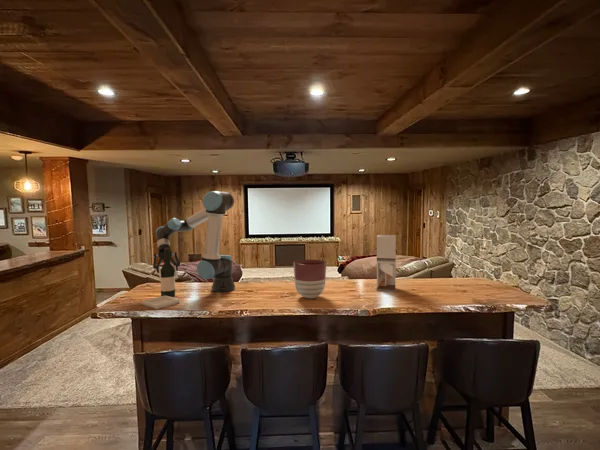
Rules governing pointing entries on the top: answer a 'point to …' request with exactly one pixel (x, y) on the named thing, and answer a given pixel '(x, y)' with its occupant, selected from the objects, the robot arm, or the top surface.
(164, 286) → the wine bottle
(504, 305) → the top surface
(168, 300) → the grey dish
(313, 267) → the planter
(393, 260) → the beige dispenser tower
